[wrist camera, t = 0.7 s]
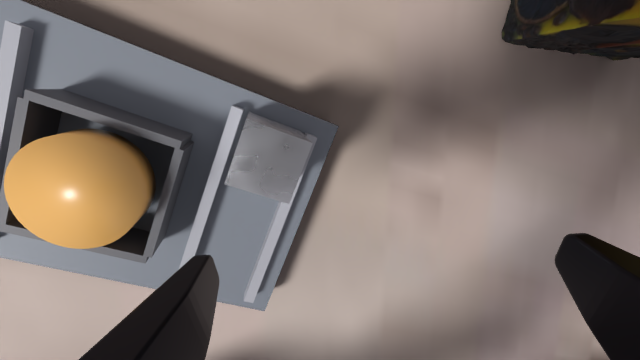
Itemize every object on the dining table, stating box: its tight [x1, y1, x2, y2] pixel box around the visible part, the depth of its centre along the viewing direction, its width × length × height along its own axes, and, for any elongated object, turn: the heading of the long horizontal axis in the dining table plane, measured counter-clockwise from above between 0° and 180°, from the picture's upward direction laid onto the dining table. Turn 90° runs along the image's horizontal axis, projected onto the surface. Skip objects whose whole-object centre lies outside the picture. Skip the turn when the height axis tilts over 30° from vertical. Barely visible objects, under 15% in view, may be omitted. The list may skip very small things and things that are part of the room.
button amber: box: [4, 129, 156, 249], centre depth 14 cm, size 5×5×2 cm
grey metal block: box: [224, 112, 313, 204], centre depth 15 cm, size 3×3×4 cm
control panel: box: [0, 0, 339, 311], centre depth 15 cm, size 13×28×4 cm, turn 68°
